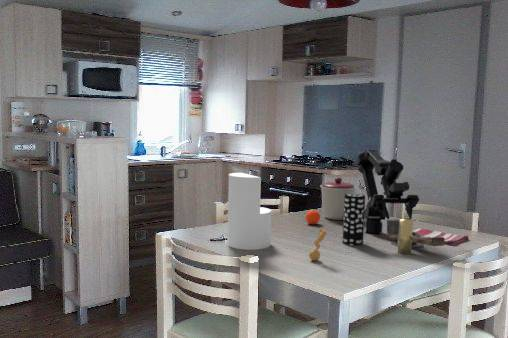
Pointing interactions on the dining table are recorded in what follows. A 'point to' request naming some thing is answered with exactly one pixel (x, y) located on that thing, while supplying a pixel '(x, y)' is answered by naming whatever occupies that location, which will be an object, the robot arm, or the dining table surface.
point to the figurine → (315, 253)
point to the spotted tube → (353, 219)
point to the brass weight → (405, 236)
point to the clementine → (312, 217)
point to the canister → (335, 198)
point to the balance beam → (394, 230)
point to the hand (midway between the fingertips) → (399, 218)
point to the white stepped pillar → (247, 214)
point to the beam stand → (414, 245)
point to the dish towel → (448, 238)
